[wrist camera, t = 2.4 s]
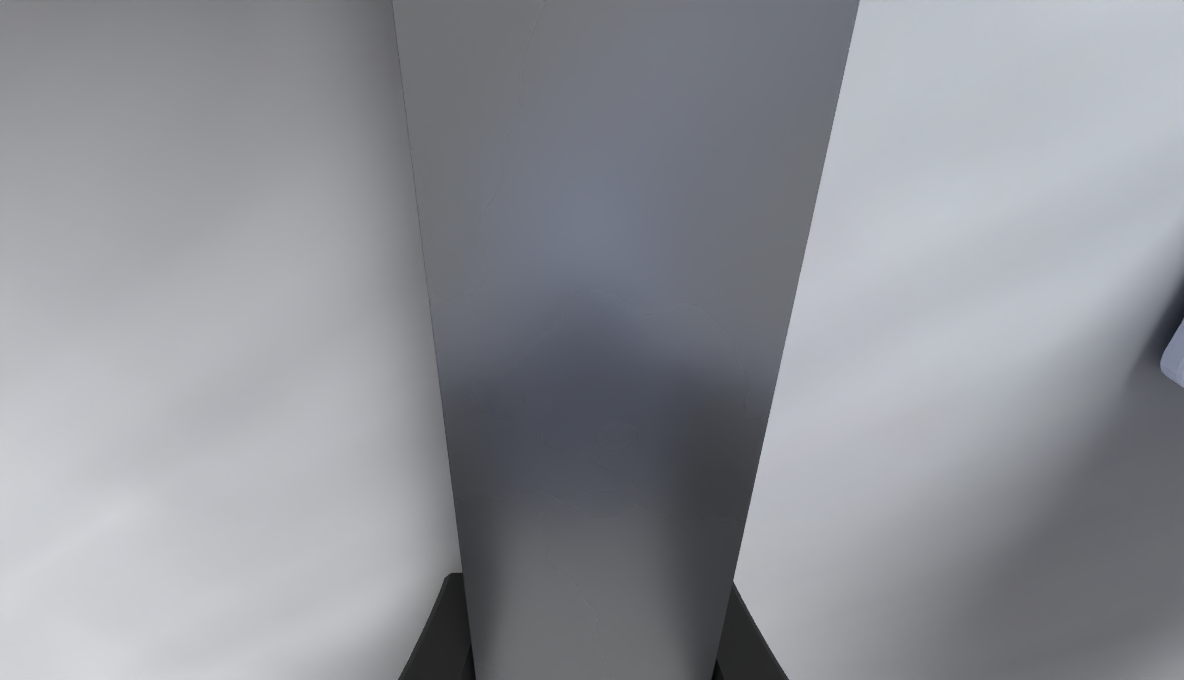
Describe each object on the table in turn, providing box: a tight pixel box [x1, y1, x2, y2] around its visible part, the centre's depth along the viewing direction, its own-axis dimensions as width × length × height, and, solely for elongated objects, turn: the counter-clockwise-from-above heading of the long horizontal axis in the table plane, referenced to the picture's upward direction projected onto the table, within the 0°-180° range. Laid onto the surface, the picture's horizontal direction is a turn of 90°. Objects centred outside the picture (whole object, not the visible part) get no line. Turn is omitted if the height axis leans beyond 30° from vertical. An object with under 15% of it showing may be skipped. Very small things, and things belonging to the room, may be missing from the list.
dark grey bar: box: [392, 0, 860, 680], centre depth 8 cm, size 3×16×4 cm, turn 179°
